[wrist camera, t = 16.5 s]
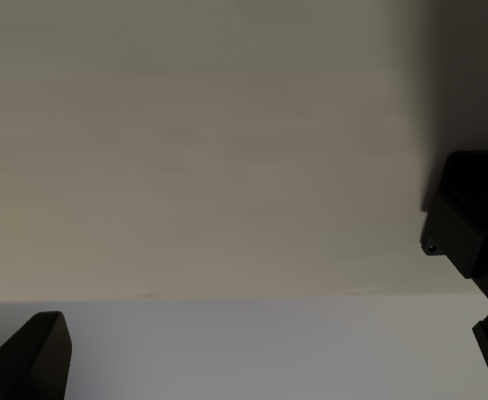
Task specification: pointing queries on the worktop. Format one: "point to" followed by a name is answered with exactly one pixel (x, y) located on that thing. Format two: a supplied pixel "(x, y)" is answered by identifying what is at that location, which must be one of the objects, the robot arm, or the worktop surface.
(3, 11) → the worktop surface
